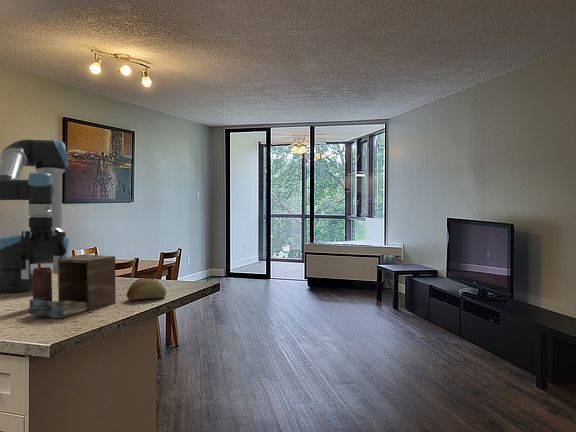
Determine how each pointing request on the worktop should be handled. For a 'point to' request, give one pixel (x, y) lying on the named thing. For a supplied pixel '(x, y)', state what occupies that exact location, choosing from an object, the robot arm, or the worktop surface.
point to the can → (42, 284)
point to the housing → (87, 280)
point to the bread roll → (146, 289)
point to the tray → (56, 308)
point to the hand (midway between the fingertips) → (41, 276)
